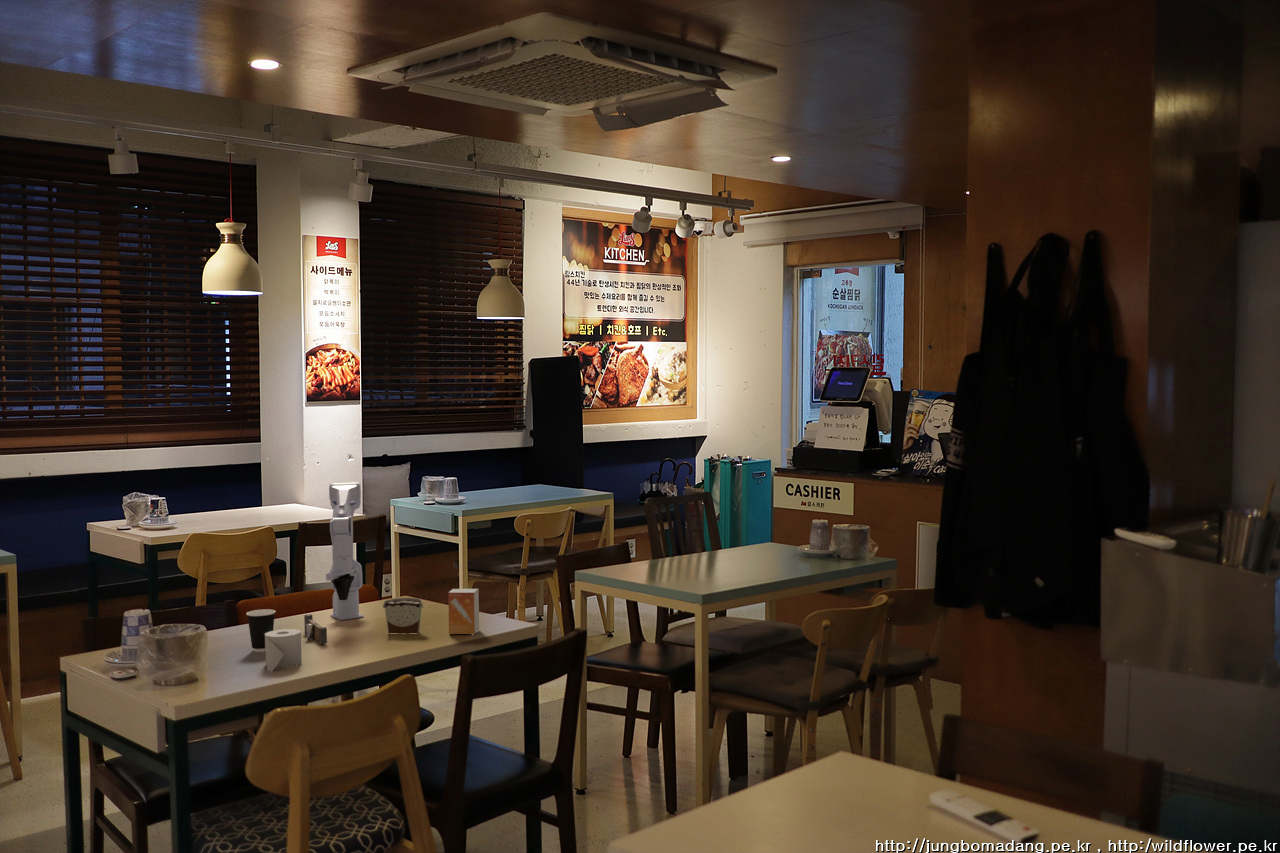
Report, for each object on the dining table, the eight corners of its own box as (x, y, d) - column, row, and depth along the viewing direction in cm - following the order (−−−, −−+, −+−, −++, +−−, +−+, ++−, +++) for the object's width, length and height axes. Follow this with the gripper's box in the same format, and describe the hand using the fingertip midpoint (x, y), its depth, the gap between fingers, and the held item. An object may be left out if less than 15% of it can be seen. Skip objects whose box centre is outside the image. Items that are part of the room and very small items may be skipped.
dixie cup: (250, 647, 315) (249, 609, 315) (278, 646, 317) (277, 608, 316) (245, 654, 307) (243, 615, 307) (274, 652, 309) (273, 614, 308)
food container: (429, 629, 335) (428, 597, 335) (423, 634, 329) (422, 601, 328) (390, 629, 336) (389, 597, 336) (383, 634, 330) (382, 601, 330)
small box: (448, 635, 327) (447, 592, 326) (453, 630, 333) (452, 588, 332) (475, 635, 326) (474, 592, 326) (479, 630, 332) (478, 588, 332)
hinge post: (303, 632, 333) (303, 615, 333) (311, 631, 335) (310, 614, 334) (306, 634, 331) (305, 616, 331) (314, 633, 333) (313, 615, 333)
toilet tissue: (268, 673, 286) (267, 641, 285) (264, 662, 298) (263, 631, 298) (304, 669, 289) (303, 637, 289) (299, 658, 301) (298, 627, 301)
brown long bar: (307, 632, 331) (306, 618, 331) (312, 632, 332) (312, 617, 332) (321, 644, 316) (321, 628, 316) (327, 643, 317) (326, 628, 317)
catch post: (305, 639, 325) (305, 624, 325) (312, 638, 326) (312, 623, 326) (308, 640, 323) (307, 625, 323) (314, 639, 324) (314, 624, 324)
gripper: (344, 552, 344) (345, 594, 344) (316, 559, 330) (318, 603, 330) (363, 552, 342) (364, 595, 342) (337, 560, 328) (338, 604, 328)
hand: (343, 599), depth 336 cm, fingers closed
